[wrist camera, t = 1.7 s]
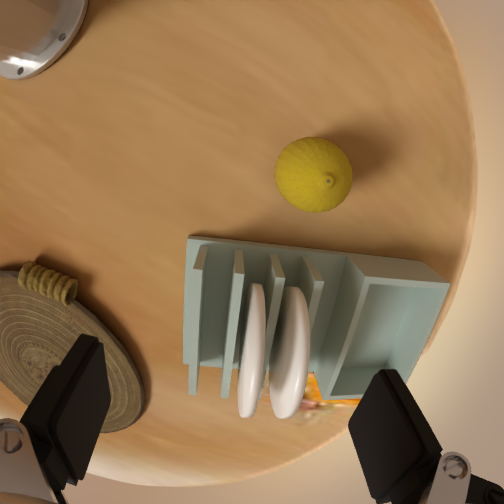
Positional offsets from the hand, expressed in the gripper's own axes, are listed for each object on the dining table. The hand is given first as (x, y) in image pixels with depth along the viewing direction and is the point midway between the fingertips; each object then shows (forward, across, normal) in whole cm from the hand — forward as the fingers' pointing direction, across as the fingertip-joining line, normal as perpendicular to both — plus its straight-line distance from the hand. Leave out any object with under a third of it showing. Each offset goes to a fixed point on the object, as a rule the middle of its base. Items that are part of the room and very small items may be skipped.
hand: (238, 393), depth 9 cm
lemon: (+19, -4, -6) cm, 21 cm away
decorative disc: (+20, +22, +21) cm, 36 cm away
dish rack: (+19, -8, +8) cm, 22 cm away
